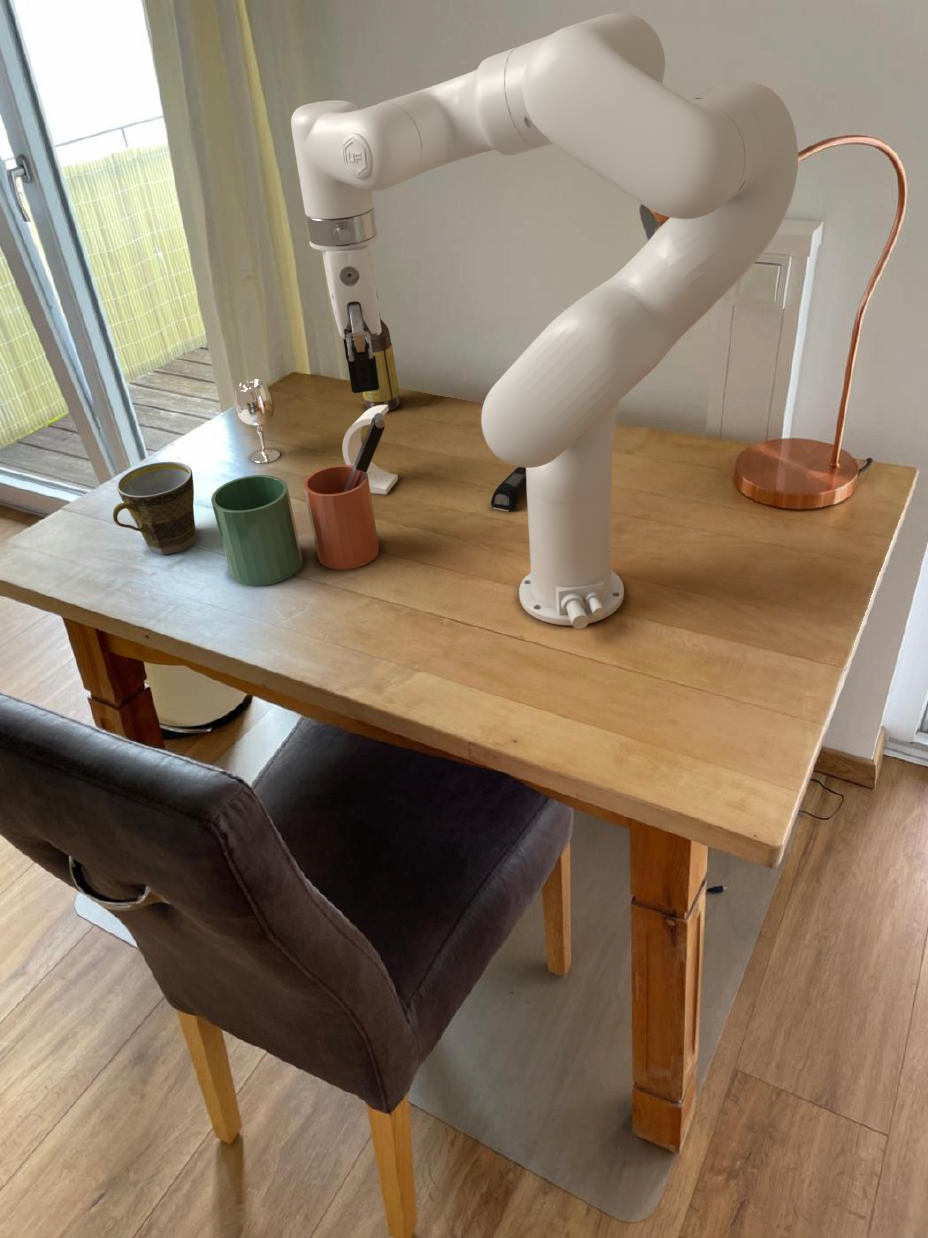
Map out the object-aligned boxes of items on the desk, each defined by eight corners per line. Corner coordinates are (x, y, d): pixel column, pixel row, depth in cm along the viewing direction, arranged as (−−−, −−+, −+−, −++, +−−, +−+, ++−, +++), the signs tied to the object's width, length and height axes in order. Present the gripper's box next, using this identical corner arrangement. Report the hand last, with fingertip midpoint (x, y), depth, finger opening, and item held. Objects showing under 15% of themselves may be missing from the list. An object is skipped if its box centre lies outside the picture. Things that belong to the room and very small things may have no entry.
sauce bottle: (387, 395, 176) (372, 280, 164) (407, 405, 171) (393, 288, 160) (356, 406, 173) (338, 291, 161) (376, 417, 168) (359, 299, 157)
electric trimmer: (557, 464, 150) (556, 444, 148) (513, 512, 139) (512, 492, 137) (534, 460, 152) (533, 441, 150) (488, 508, 141) (487, 488, 139)
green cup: (304, 579, 130) (288, 505, 123) (229, 591, 129) (209, 517, 123) (301, 541, 138) (286, 470, 131) (230, 552, 137) (212, 481, 130)
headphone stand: (386, 494, 146) (375, 418, 139) (349, 490, 148) (336, 415, 141) (398, 479, 150) (388, 404, 143) (361, 475, 152) (349, 402, 145)
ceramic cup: (172, 518, 146) (154, 456, 140) (223, 532, 141) (207, 468, 136) (105, 562, 137) (83, 498, 131) (157, 579, 133) (137, 513, 127)
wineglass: (241, 463, 158) (224, 392, 151) (257, 447, 163) (242, 377, 156) (274, 466, 157) (258, 394, 150) (289, 449, 161) (275, 378, 154)
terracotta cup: (382, 564, 131) (370, 490, 125) (319, 574, 131) (304, 500, 124) (376, 532, 138) (365, 461, 131) (316, 542, 137) (302, 470, 131)
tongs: (400, 545, 134) (384, 418, 123) (323, 556, 133) (300, 429, 122) (398, 538, 135) (383, 412, 125) (322, 548, 134) (300, 422, 124)
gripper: (383, 245, 104) (401, 399, 114) (369, 204, 118) (386, 344, 128) (310, 254, 103) (335, 408, 113) (305, 211, 117) (327, 352, 127)
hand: (362, 374), depth 121 cm, fingers open, 9 cm apart
